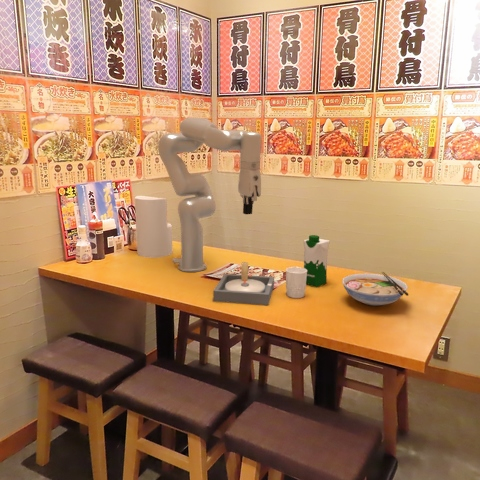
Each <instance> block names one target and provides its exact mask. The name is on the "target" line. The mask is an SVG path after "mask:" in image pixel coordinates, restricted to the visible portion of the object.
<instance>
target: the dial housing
mask: <svg viewBox="0 0 480 480" xmlns="http://www.w3.org/2000/svg"><path fill="white" fill-rule="evenodd" d="M236 279H241V274H232V273H224V274H223V276H222V277H221V278H220V280H219V282H218V283H217V284H216V286H215V287H214V289H213V293H212V294H213V300H212V301H213V302H217V303H218V302H220V303H232V304H247V305H259V306H261V305H262V306H269V305H270V301H271V297H272V295H273V290H274V287H275V276H267V275H266V276H264V275H253V274H248V279H253V280H257V281H260V282H262V283H264V284H265V292H264V293H259V292H244V291H230V290H225V284H226V283H227V282H229V281H232V280H236Z"/></svg>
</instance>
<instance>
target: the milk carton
mask: <svg viewBox="0 0 480 480" xmlns="http://www.w3.org/2000/svg"><path fill="white" fill-rule="evenodd" d="M330 242H331V240H329V239H324V238H320V236H319V235H317V234H314V235H313V234H312V235H311V234H310V235H309V236H308V239H304V240H303V249H304V251H303V252H304V253H303V268H305V269H307V279H306V286H307V285H308V286H311V287H314V288H319V287H322V286H324V285H325V284H327V280H328V279H327V271H328V252H329V247H330Z"/></svg>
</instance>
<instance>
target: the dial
mask: <svg viewBox="0 0 480 480" xmlns="http://www.w3.org/2000/svg"><path fill="white" fill-rule="evenodd" d="M240 267H241V270H240V275H241V279H236V280H232V281H229V282H227V283H226V284H225V290H230V291H244V292H259V293H264V292H265V284H264V283H262V282H260V281H257V280H253V279H248V275H249V262H247V261H241V266H240Z"/></svg>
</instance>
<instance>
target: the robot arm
mask: <svg viewBox="0 0 480 480" xmlns="http://www.w3.org/2000/svg"><path fill="white" fill-rule="evenodd" d="M204 144H205V145H206V146H207V147H209V148H211V149H214V150H218V151H221V152H223V151H224V152H228V151H229V152H230V151H231V152H232V151H240V154H239V156H240V157H239V175H238V186H237V187H238V188H237V189H238V193H239V194H240V195H239V196H240V197H241V198H242V204H243V206H242V214H243V215H252V214H253V208H254V207H253V205H254V203H255V201H257V200H258V197H261V193H262V178H261V177H262V176H261V170H260V169H261V154H262V152H261V151H262V150H261V149H262V134H261V133H260V132H257V131H246V130H242V129H241V130H239V129H238V130H237V129H229V130H228V129H220V128H218V126H217V125H216V124H215V123H214V122H211V120H210V119H208V118H205V117H187V118H186V117H185V119H183V120H182V121H181V122H180V123H179V132H169V133H166V134H163V135H162V136H161V137H160V139H159V140H158V149H157V150H158V155H159V158H160V159H161V162H162V163H163V165H164V167H165V169H166V171H167V174H168V176H169V180H170V182H171V185H172V189H173V190H174V193H175V194H176V196H178V197H186V198H184V199H182V200H181V201H180V202H179V203H178V205H177V212H178V217H179V223H180V246H181V247H180V249H181V251H180V252H181V257H172V262H173V263H174V264H178V267H177V268H178V269H177V270H179V271H182V272H184V273H185V272H187V273H197V272H202V271H205V270H206V269H207V267H208V266H207V263H205V262H204V231H203V226H202V224H201V221H200V220H199V219H203V218H208V217H211V216H213V215H214V214H215V212H216V208H217V207H216V202H215V198H214V195H213V193H212V190H211V187H210V185H209V182H208V180H207V179H206V178H205V175H202V174H201V173H195V172H193V173H190V171H189V170H188V168H187V164H186V163H185V161H184V160H183V158H181V157H180V156H179V154H185V153H187V154H189V153H194V152H195V151H197V150H198V149H199V148H200V147H201V146H203V145H204ZM189 196H192V197H189Z"/></svg>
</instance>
